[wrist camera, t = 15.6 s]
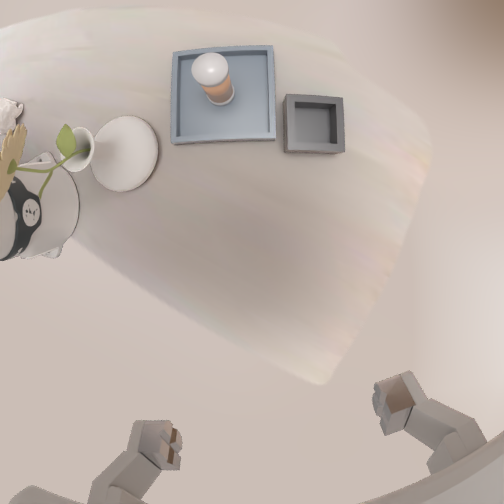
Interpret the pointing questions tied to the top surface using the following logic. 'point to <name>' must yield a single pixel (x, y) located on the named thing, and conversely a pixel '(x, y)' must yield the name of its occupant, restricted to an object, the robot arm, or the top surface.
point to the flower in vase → (92, 153)
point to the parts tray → (234, 114)
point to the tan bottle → (214, 78)
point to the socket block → (313, 124)
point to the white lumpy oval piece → (8, 114)
